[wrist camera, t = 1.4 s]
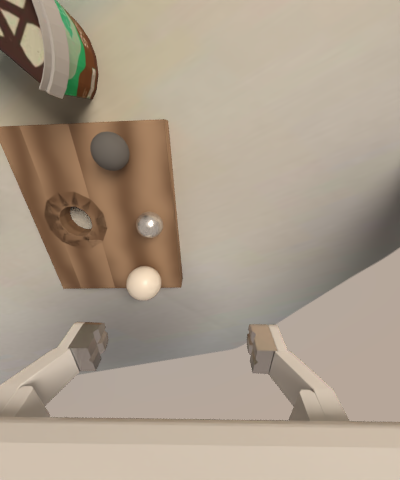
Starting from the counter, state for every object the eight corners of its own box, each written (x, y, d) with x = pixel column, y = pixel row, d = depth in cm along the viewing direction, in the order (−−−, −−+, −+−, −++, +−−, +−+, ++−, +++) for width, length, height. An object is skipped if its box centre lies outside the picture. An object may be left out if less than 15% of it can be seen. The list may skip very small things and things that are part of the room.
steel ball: (163, 207, 28) (158, 216, 25) (166, 231, 29) (162, 242, 26) (138, 208, 28) (129, 217, 25) (142, 231, 29) (134, 243, 26)
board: (168, 120, 25) (164, 119, 23) (182, 277, 36) (181, 287, 34) (11, 127, 26) (-7, 127, 24) (72, 279, 37) (63, 288, 35)
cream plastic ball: (161, 259, 32) (154, 279, 27) (165, 285, 34) (159, 307, 29) (130, 259, 32) (117, 280, 27) (135, 285, 34) (125, 308, 30)
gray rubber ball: (130, 130, 24) (117, 130, 20) (136, 167, 25) (125, 172, 22) (96, 132, 24) (77, 132, 20) (105, 168, 26) (89, 174, 22)
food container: (131, 60, 23) (83, 12, 14) (103, 109, 25) (46, 95, 16) (21, -53, 19) (-140, -216, 10) (-1, 15, 21) (-149, -70, 12)
